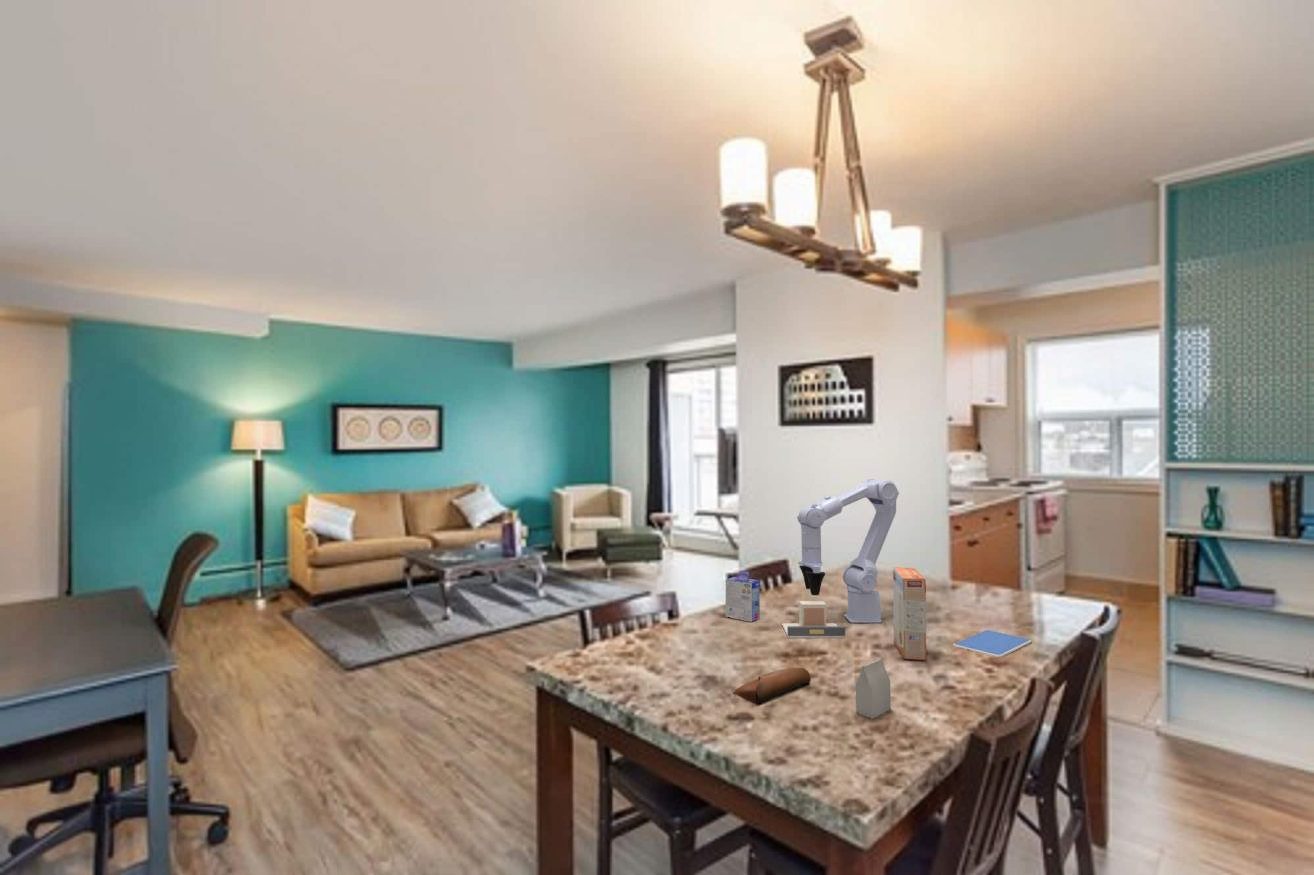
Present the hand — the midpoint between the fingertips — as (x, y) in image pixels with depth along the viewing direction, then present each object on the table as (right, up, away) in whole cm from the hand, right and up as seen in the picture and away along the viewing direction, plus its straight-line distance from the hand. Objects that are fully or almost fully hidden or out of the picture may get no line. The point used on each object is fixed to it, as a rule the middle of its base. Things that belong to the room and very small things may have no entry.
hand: (812, 591), depth 188 cm
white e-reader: (-2, -10, -7) cm, 12 cm away
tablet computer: (+44, -10, -20) cm, 49 cm away
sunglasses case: (-21, -11, -48) cm, 53 cm away
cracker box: (+19, -10, -25) cm, 33 cm away
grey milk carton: (-2, -10, -60) cm, 61 cm away
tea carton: (-2, -9, -8) cm, 12 cm away
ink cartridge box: (-20, -11, +8) cm, 24 cm away
